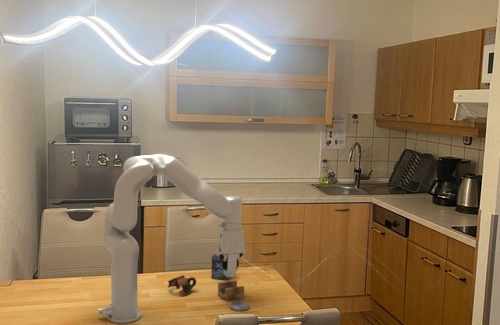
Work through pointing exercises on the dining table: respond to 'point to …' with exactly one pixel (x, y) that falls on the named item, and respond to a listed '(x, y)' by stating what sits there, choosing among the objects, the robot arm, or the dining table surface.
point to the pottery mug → (183, 284)
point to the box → (217, 268)
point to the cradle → (230, 290)
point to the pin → (231, 265)
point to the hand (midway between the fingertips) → (230, 268)
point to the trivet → (239, 306)
